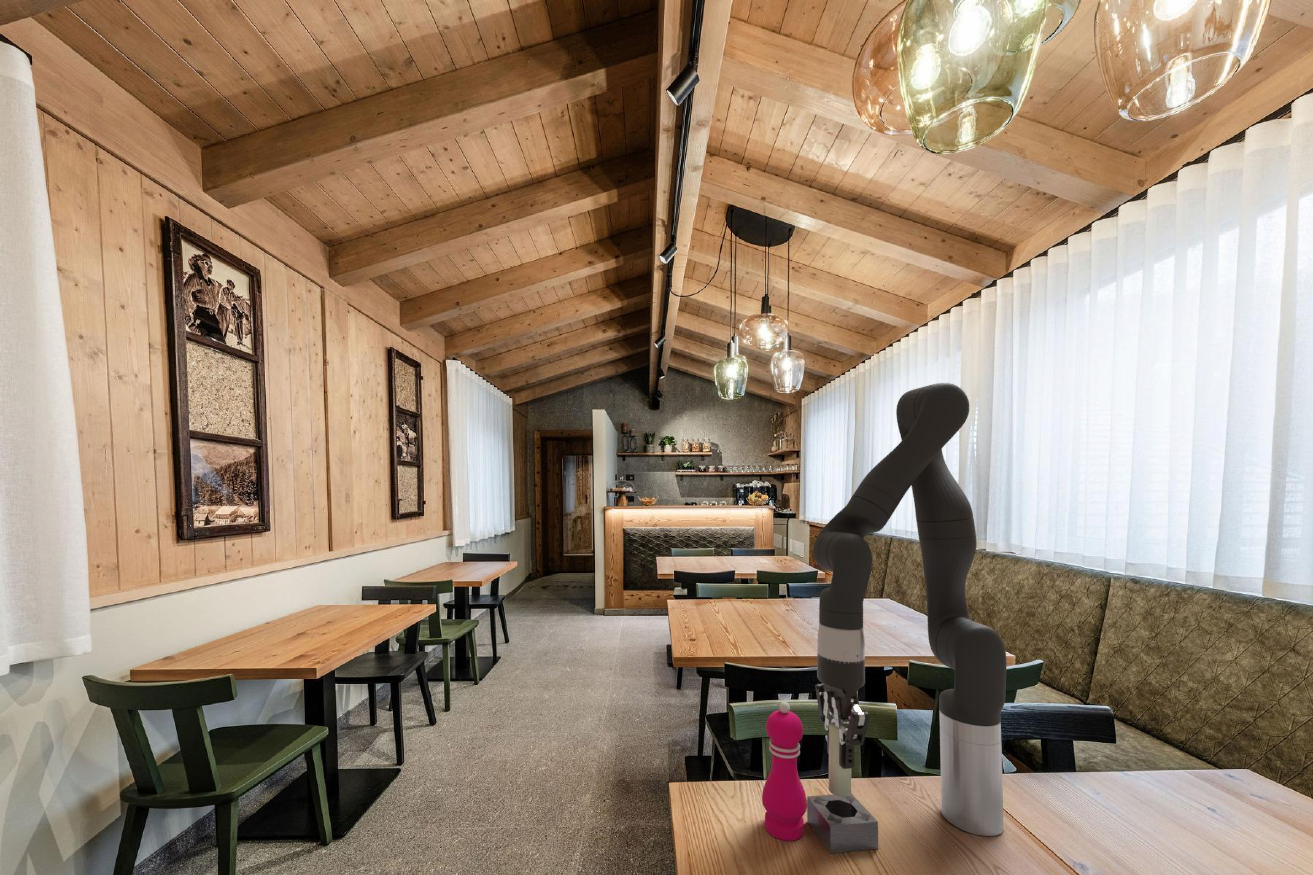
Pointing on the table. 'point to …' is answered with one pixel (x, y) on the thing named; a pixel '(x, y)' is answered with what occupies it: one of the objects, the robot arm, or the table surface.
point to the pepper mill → (784, 777)
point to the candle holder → (842, 823)
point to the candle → (837, 766)
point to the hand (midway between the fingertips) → (840, 760)
